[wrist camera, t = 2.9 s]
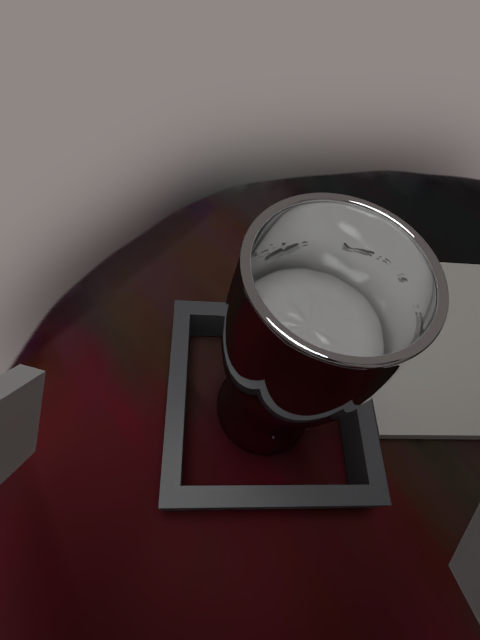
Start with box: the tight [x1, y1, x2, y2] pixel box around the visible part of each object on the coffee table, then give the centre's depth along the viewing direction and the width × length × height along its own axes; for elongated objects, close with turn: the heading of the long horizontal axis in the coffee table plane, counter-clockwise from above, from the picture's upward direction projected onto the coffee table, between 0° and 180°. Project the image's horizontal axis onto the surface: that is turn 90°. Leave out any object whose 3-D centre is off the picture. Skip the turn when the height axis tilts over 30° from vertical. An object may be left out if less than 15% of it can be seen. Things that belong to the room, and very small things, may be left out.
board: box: [371, 262, 480, 440], centre depth 28 cm, size 16×14×1 cm
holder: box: [158, 300, 391, 511], centre depth 23 cm, size 12×12×3 cm
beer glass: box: [217, 193, 449, 455], centre depth 18 cm, size 7×7×15 cm
